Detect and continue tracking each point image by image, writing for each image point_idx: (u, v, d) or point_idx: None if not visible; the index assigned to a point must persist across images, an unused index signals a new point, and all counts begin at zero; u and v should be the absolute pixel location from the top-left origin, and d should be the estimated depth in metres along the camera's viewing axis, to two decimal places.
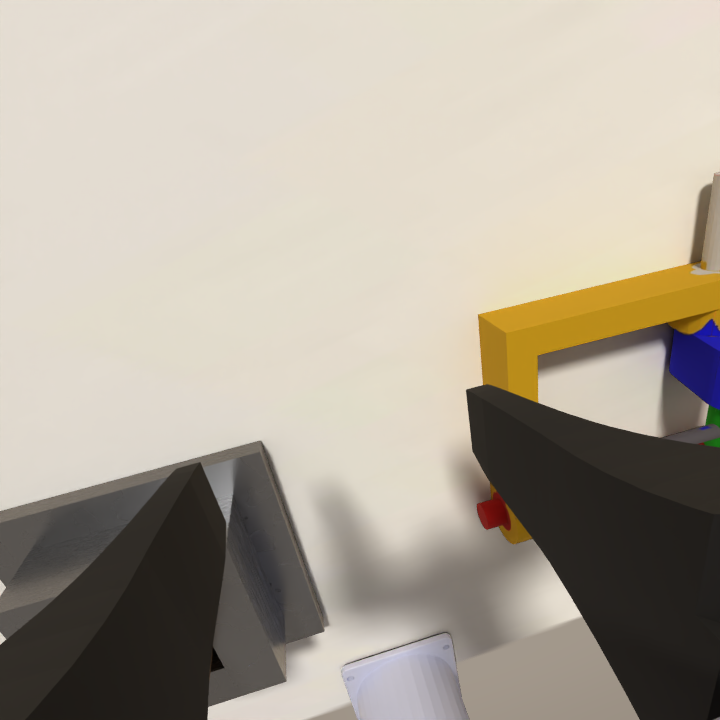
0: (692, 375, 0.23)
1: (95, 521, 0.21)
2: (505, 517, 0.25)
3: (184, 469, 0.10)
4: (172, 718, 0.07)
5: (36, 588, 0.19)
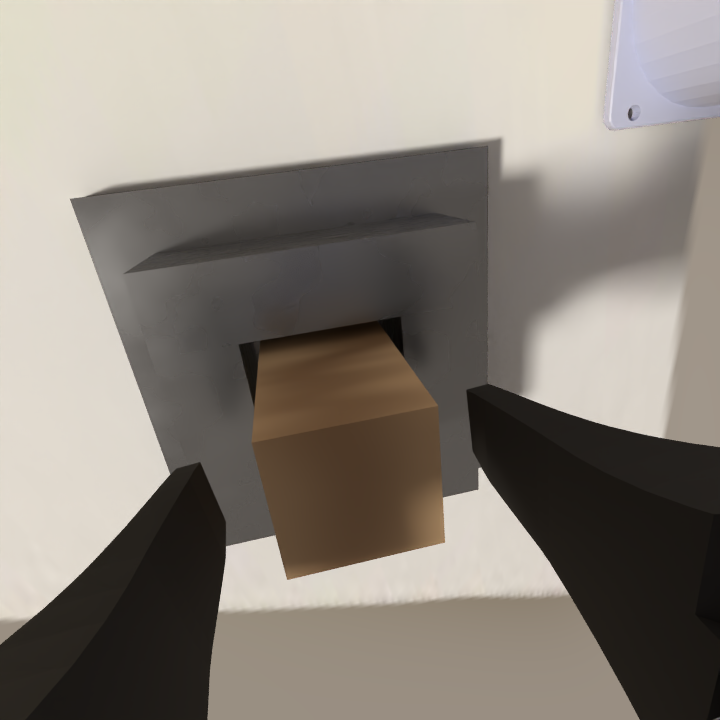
0: None
1: None
2: None
3: (184, 469, 0.10)
4: (172, 718, 0.07)
5: None
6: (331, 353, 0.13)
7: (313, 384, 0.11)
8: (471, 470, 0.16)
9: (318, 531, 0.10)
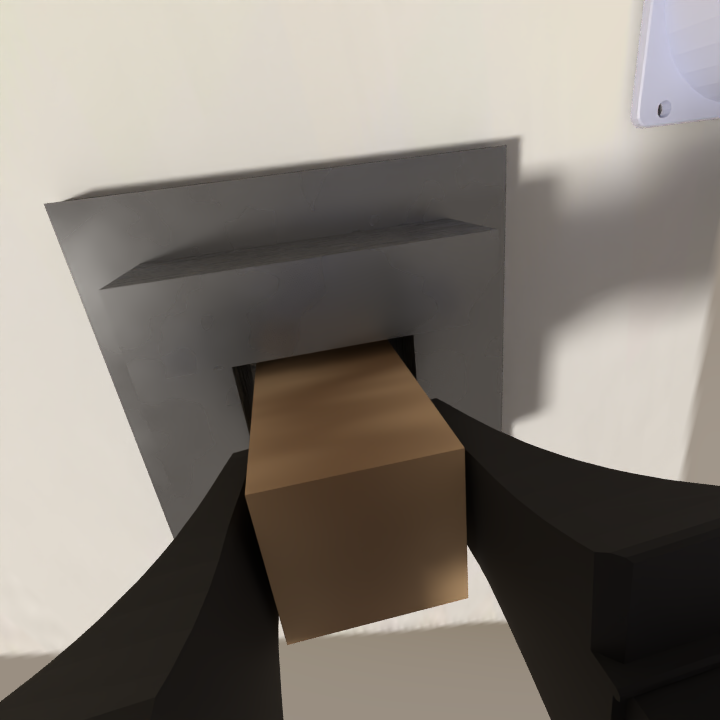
0: None
1: None
2: None
3: (242, 453, 0.11)
4: (259, 690, 0.07)
5: None
6: (336, 377, 0.11)
7: (317, 416, 0.10)
8: None
9: (323, 591, 0.09)
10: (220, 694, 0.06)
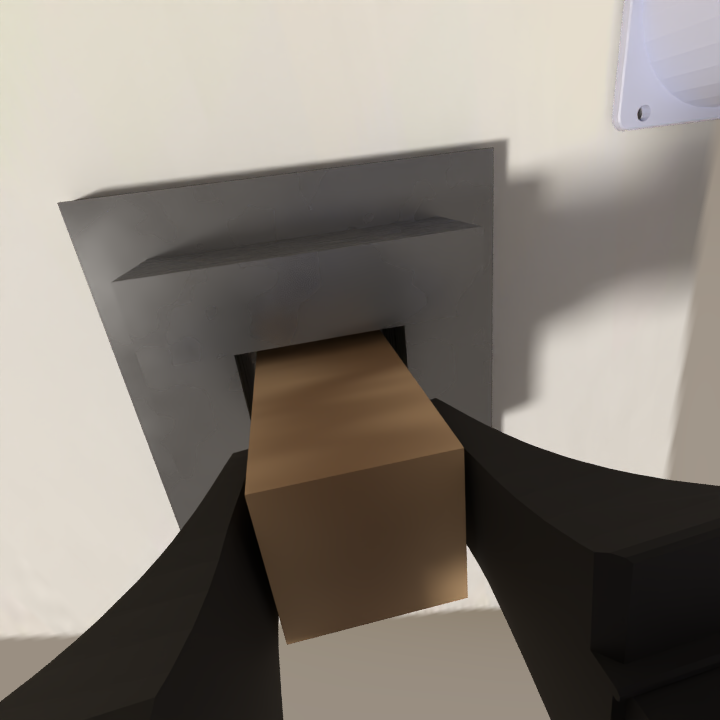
0: None
1: None
2: None
3: (242, 453, 0.11)
4: (259, 690, 0.07)
5: None
6: (336, 377, 0.11)
7: (317, 415, 0.10)
8: None
9: (323, 590, 0.09)
10: (220, 694, 0.06)
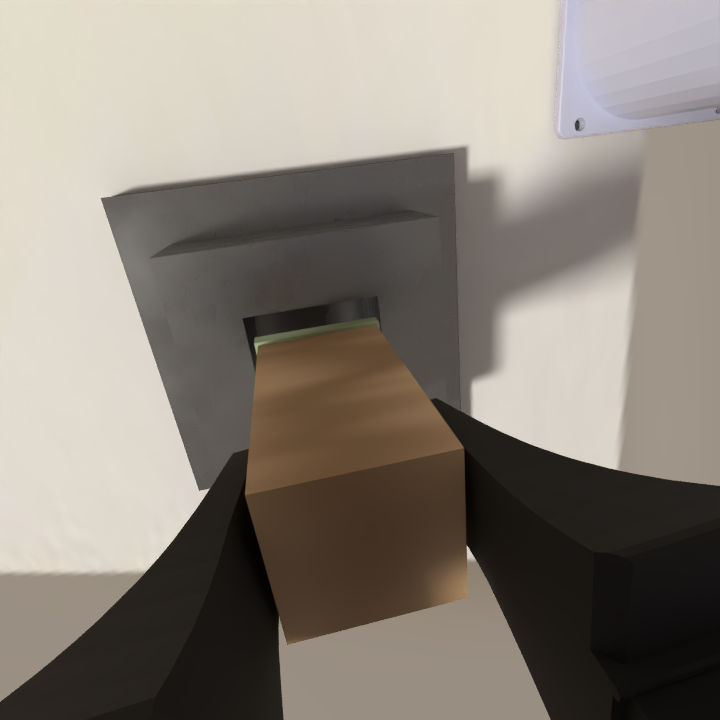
0: None
1: None
2: None
3: (242, 453, 0.11)
4: (259, 690, 0.07)
5: None
6: (336, 378, 0.11)
7: (317, 416, 0.10)
8: None
9: (323, 591, 0.09)
10: (220, 694, 0.06)
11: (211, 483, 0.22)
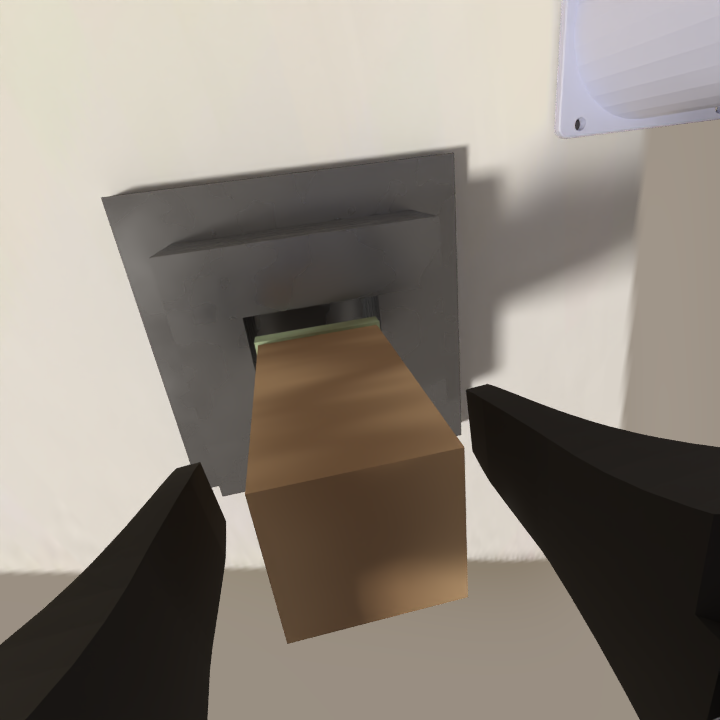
0: None
1: None
2: None
3: (184, 469, 0.10)
4: (172, 718, 0.07)
5: None
6: (336, 377, 0.11)
7: (317, 415, 0.10)
8: None
9: (323, 590, 0.09)
10: None
11: (211, 482, 0.22)
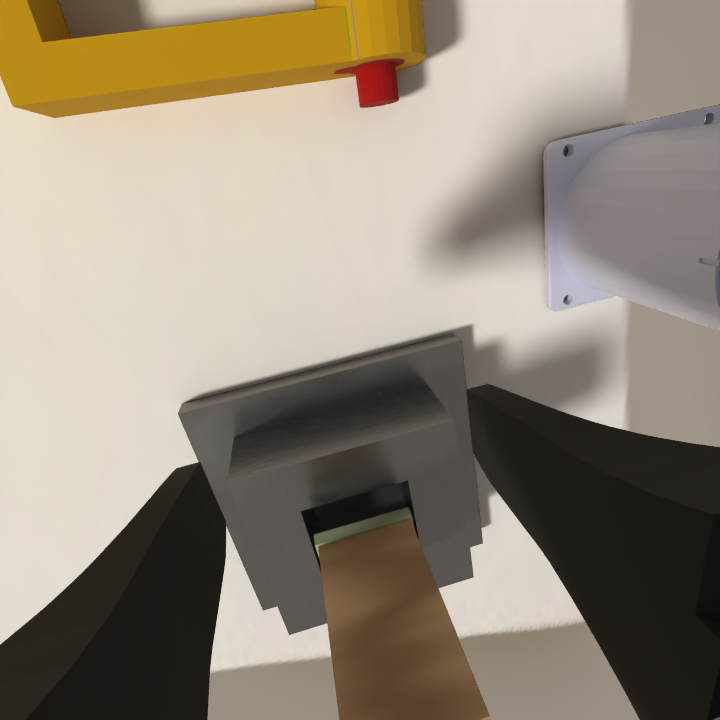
0: None
1: None
2: (374, 67, 0.16)
3: (184, 469, 0.10)
4: (172, 718, 0.07)
5: None
6: (387, 606, 0.15)
7: (380, 663, 0.13)
8: (467, 565, 0.23)
9: None
10: None
11: (273, 604, 0.26)
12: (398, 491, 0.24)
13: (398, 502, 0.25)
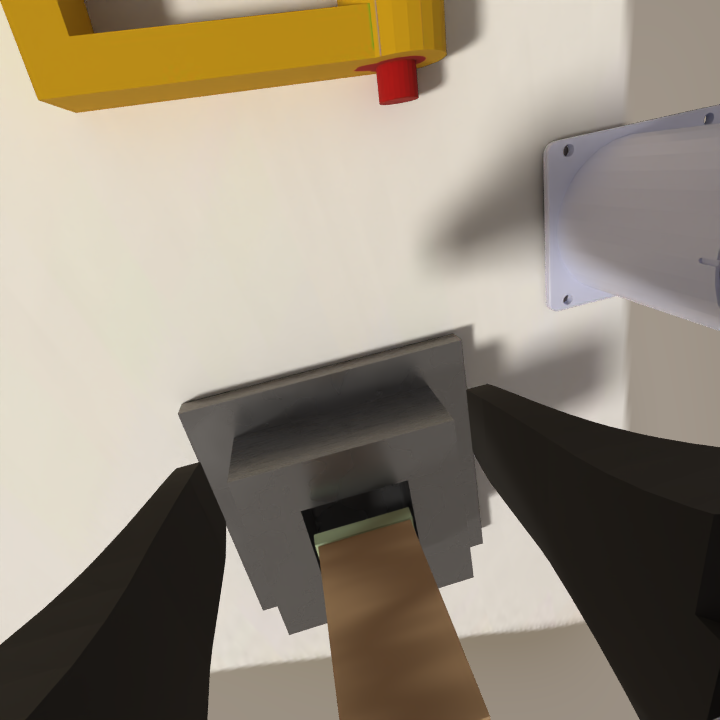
0: None
1: None
2: (395, 64, 0.16)
3: (184, 469, 0.10)
4: (172, 718, 0.07)
5: None
6: (387, 606, 0.15)
7: (380, 663, 0.13)
8: (467, 565, 0.23)
9: None
10: None
11: (273, 604, 0.26)
12: (398, 491, 0.24)
13: (398, 502, 0.25)
